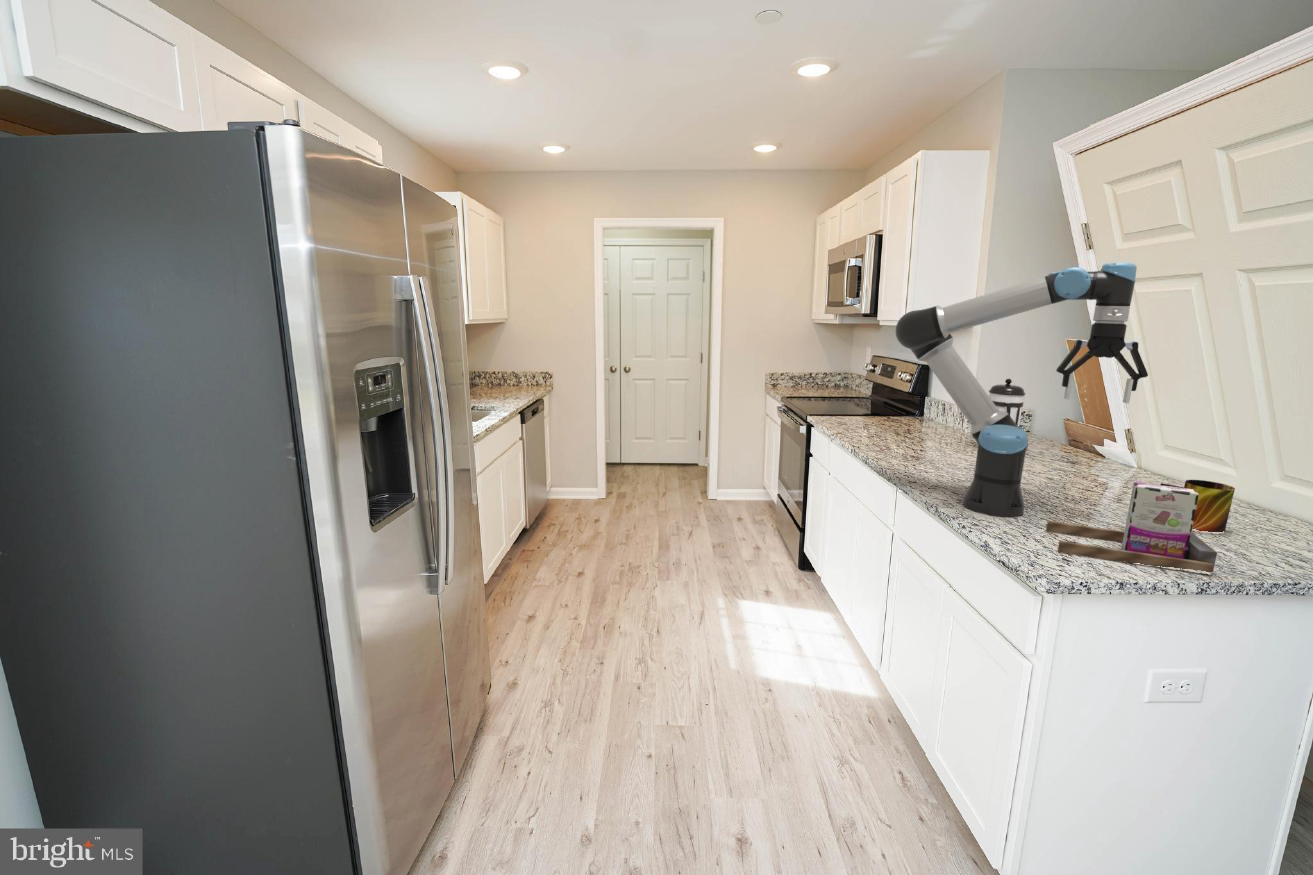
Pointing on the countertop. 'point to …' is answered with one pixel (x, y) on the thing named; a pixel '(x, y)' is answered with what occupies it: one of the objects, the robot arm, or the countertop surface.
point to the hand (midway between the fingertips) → (1095, 401)
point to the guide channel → (1196, 558)
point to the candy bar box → (1160, 520)
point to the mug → (1210, 504)
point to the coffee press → (1008, 399)
